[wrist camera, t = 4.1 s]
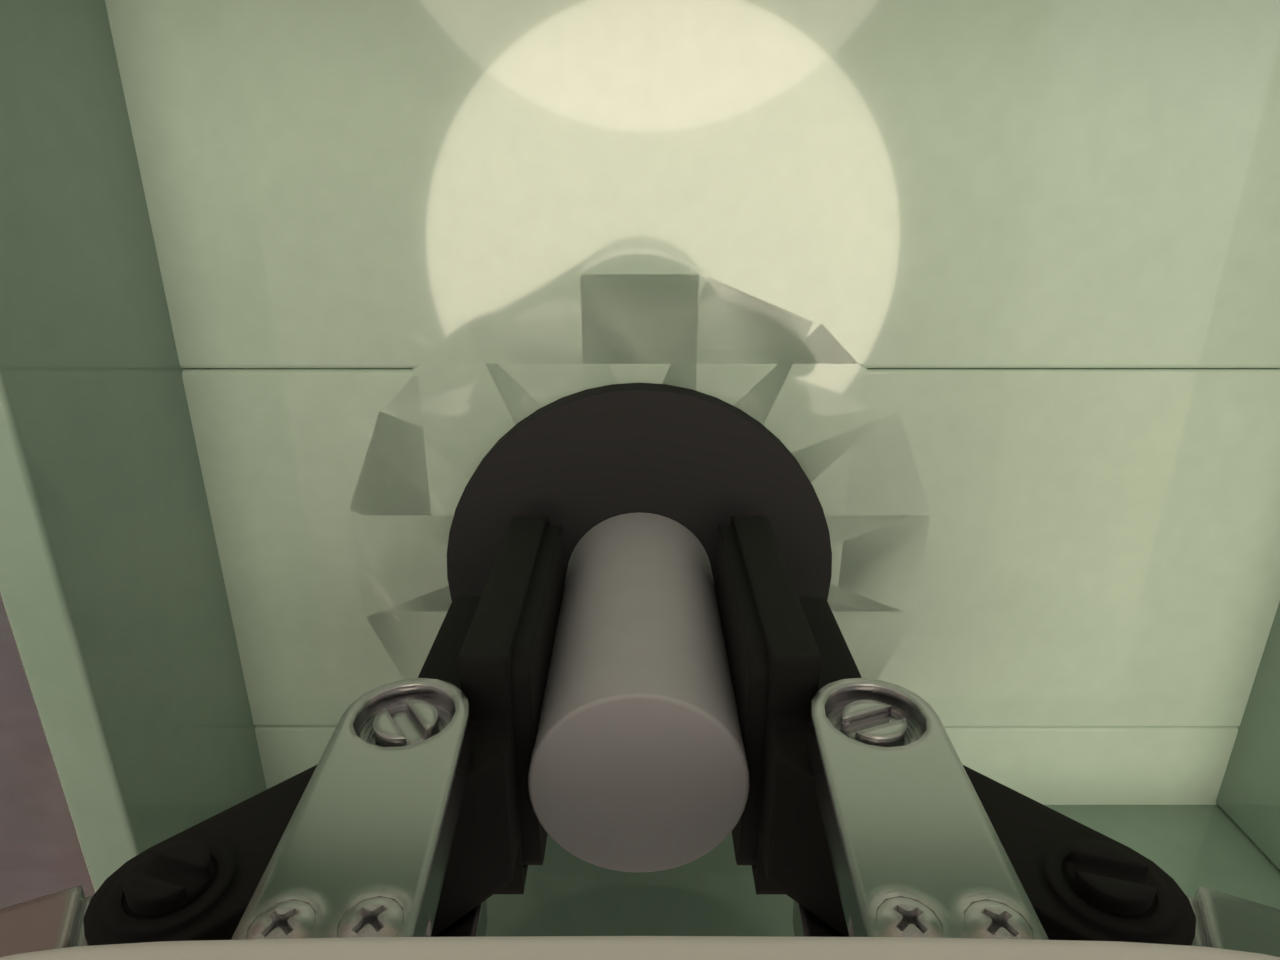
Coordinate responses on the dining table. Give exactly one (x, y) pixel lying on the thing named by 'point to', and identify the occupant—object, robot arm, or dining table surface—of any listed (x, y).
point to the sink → (191, 570)
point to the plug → (639, 607)
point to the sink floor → (751, 325)
